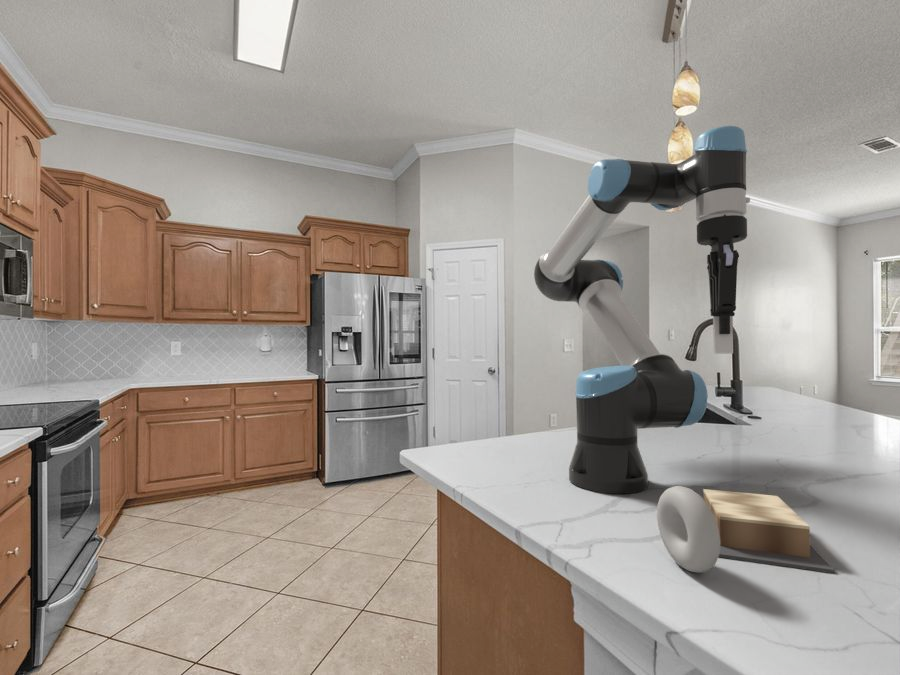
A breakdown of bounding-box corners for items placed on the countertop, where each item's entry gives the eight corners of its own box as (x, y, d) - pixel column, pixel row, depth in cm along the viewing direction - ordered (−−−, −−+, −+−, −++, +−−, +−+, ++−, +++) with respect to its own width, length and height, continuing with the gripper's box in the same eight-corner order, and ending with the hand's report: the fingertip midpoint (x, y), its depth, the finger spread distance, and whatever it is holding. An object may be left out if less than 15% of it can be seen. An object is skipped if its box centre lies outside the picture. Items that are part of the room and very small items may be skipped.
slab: (703, 513, 71) (720, 545, 60) (703, 489, 71) (719, 516, 60) (777, 522, 67) (810, 557, 56) (777, 495, 67) (809, 526, 56)
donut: (652, 550, 59) (650, 476, 60) (676, 548, 60) (674, 475, 60) (700, 591, 49) (698, 502, 50) (728, 589, 50) (726, 501, 50)
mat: (711, 555, 58) (711, 552, 58) (694, 516, 71) (694, 514, 71) (834, 573, 53) (834, 569, 53) (791, 527, 66) (791, 525, 66)
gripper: (756, 206, 69) (759, 354, 69) (737, 226, 81) (739, 352, 81) (702, 212, 72) (704, 354, 72) (691, 230, 84) (693, 352, 84)
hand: (723, 353), depth 77 cm, fingers closed
